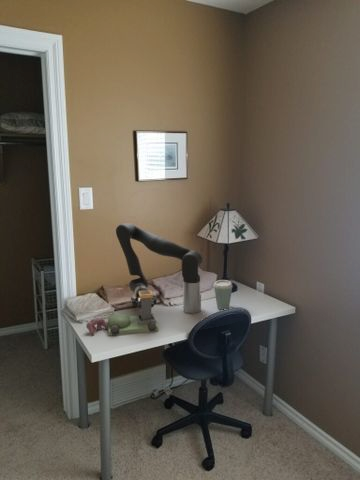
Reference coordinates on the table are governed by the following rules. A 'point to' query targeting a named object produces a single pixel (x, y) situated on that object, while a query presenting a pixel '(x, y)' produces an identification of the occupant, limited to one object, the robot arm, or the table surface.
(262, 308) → the table surface
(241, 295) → the table surface
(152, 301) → the robot arm
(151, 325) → the toy lawn mower
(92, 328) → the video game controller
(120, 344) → the table surface
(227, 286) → the disposable coffee cup
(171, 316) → the table surface
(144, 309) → the orange-capped grey post
